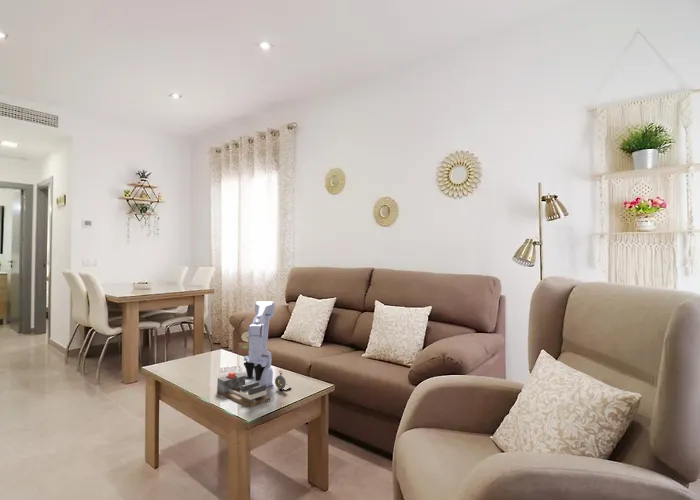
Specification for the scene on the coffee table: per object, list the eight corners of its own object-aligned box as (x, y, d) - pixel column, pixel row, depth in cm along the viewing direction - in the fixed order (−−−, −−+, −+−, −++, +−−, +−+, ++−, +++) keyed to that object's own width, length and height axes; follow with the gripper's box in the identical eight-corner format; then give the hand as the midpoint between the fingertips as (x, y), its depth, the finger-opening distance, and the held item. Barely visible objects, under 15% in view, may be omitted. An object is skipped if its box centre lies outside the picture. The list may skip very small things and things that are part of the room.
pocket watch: (291, 386, 198) (292, 367, 198) (289, 392, 190) (290, 372, 190) (276, 386, 198) (277, 367, 198) (273, 391, 189) (274, 372, 189)
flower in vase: (264, 373, 218) (266, 330, 218) (258, 379, 206) (260, 334, 207) (243, 371, 219) (245, 328, 219) (235, 377, 208) (237, 332, 208)
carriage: (255, 390, 183) (256, 381, 183) (266, 394, 178) (266, 385, 178) (240, 395, 176) (240, 385, 176) (250, 399, 171) (250, 389, 171)
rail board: (237, 386, 195) (238, 372, 195) (270, 400, 178) (270, 385, 179) (217, 392, 186) (217, 378, 186) (248, 407, 169) (249, 392, 169)
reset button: (232, 379, 191) (232, 371, 191) (236, 381, 189) (237, 373, 189) (226, 381, 188) (226, 373, 188) (230, 383, 186) (230, 375, 186)
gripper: (238, 348, 179) (237, 377, 179) (257, 354, 170) (256, 384, 169) (251, 345, 184) (250, 373, 184) (270, 351, 175) (269, 380, 175)
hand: (254, 378), depth 177 cm, fingers open, 6 cm apart
